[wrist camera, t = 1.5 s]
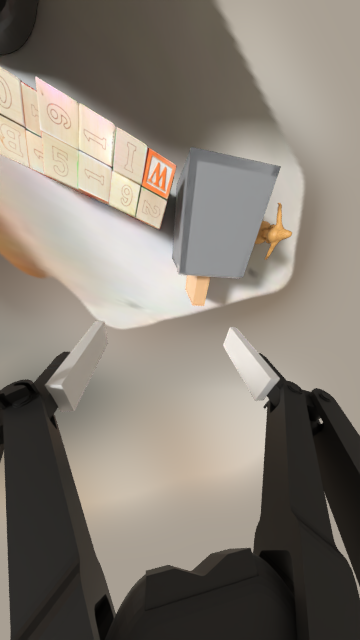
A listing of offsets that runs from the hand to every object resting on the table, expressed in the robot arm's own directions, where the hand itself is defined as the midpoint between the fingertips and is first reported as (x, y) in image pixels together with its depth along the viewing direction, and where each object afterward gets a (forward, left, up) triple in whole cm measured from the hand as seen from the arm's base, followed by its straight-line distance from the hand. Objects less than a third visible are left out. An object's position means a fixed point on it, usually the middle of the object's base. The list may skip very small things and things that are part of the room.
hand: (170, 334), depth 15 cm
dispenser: (-10, +7, -22) cm, 25 cm away
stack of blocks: (-16, -11, -22) cm, 29 cm away
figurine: (-11, +18, -22) cm, 31 cm away
